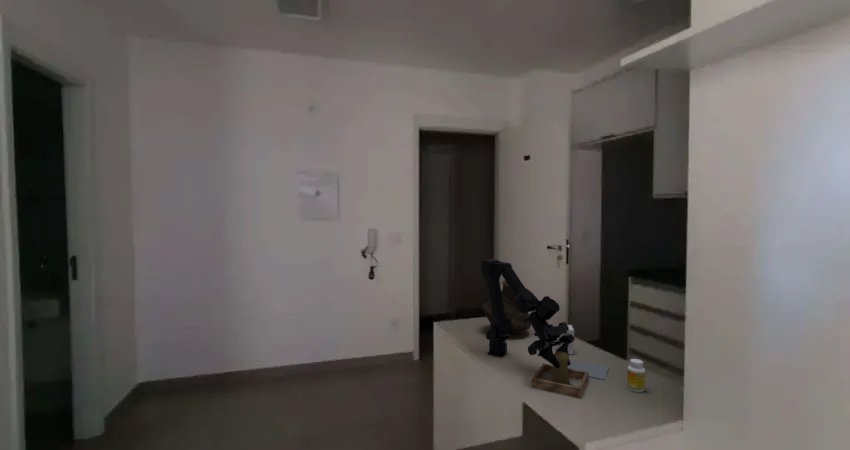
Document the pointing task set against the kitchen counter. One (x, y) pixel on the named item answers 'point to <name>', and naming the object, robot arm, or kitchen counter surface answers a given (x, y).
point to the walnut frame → (559, 387)
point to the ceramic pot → (509, 310)
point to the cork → (561, 369)
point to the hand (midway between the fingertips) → (564, 366)
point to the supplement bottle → (636, 376)
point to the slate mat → (590, 369)
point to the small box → (571, 345)
